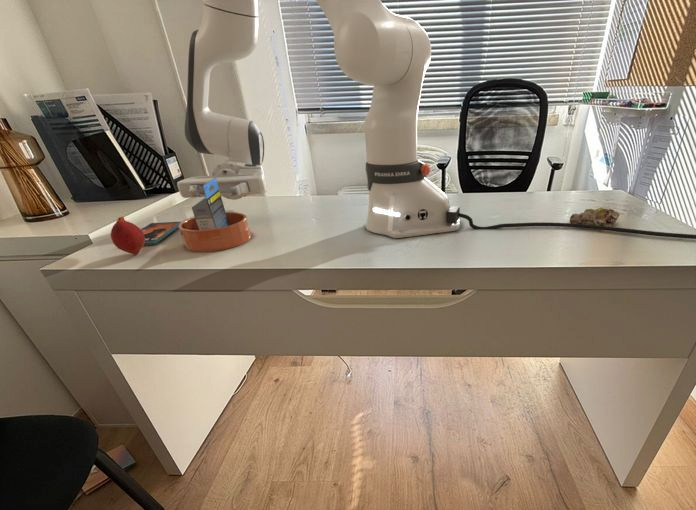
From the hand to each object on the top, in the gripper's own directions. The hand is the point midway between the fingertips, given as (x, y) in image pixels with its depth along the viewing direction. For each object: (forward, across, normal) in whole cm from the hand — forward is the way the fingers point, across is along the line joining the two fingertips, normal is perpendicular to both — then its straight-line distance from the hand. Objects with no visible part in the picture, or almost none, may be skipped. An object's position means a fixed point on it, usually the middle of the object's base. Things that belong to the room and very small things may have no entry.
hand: (213, 192), depth 88 cm
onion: (+11, -16, +10) cm, 22 cm away
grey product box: (+5, 0, +9) cm, 10 cm away
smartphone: (-2, -18, +10) cm, 21 cm away
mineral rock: (+9, +86, +10) cm, 87 cm away
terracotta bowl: (+5, 0, +10) cm, 11 cm away
